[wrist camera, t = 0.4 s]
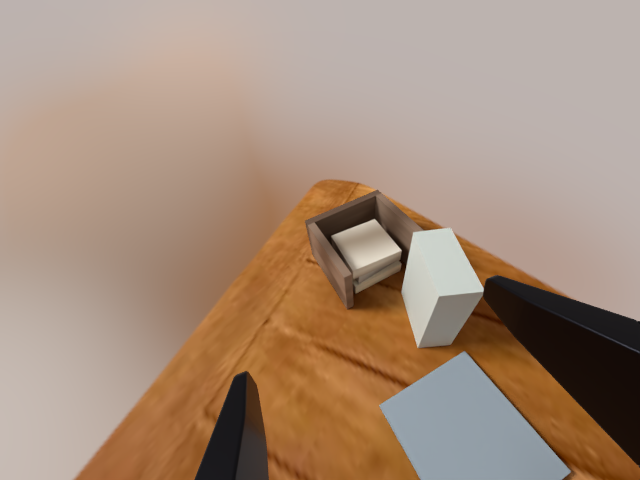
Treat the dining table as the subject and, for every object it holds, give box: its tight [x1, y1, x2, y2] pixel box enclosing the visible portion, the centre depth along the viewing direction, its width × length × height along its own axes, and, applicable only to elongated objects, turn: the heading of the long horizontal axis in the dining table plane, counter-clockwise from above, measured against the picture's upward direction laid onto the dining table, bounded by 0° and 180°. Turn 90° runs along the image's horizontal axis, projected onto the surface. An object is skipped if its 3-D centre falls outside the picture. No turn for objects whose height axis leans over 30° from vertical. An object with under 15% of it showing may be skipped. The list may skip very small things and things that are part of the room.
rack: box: [305, 190, 424, 309], centre depth 30 cm, size 9×10×6 cm
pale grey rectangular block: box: [401, 228, 484, 348], centre depth 23 cm, size 6×3×10 cm, turn 3°
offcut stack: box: [331, 219, 402, 293], centre depth 30 cm, size 6×6×4 cm
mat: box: [379, 351, 571, 480], centre depth 20 cm, size 9×9×1 cm
